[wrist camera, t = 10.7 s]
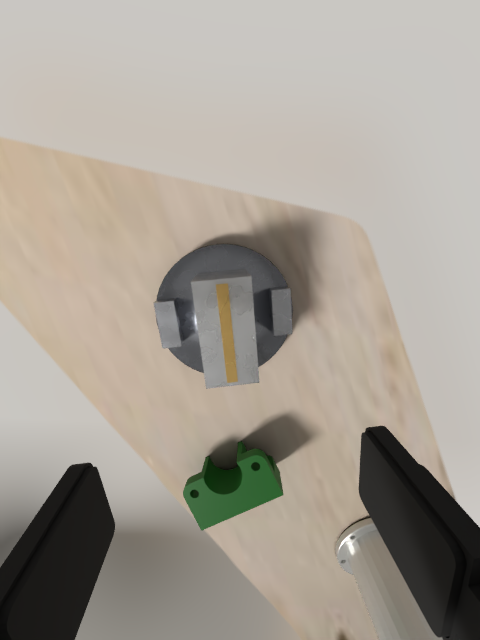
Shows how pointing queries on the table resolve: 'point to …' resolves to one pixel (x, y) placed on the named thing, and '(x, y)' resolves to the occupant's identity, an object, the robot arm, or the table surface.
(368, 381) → the table surface
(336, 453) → the table surface
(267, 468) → the clamp
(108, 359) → the table surface
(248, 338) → the striped grey block
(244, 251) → the shallow grey dish
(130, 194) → the table surface
